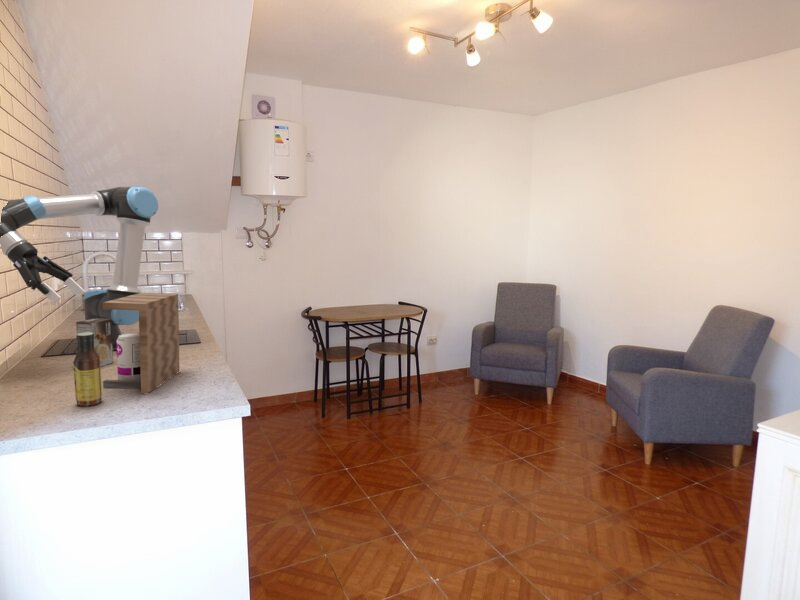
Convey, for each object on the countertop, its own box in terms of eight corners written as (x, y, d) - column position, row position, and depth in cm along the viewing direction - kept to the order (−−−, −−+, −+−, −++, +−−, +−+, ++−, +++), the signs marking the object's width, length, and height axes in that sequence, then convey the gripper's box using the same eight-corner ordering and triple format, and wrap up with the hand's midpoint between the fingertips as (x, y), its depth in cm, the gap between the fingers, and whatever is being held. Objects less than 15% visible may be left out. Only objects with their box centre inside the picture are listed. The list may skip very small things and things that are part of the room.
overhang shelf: (133, 370, 171) (130, 292, 167) (179, 371, 172) (178, 293, 168) (94, 392, 147) (90, 302, 143) (148, 394, 148) (145, 303, 144)
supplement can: (117, 386, 154) (115, 338, 152) (118, 379, 161) (116, 333, 159) (147, 383, 157) (145, 337, 155) (146, 376, 165) (145, 332, 163)
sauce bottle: (83, 399, 141) (80, 330, 139) (106, 399, 142) (104, 331, 139) (70, 407, 135) (66, 335, 132) (94, 407, 135) (91, 335, 133)
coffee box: (98, 361, 181) (97, 317, 179) (114, 362, 180) (112, 318, 178) (77, 367, 172) (75, 321, 170) (93, 369, 171) (91, 323, 169)
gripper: (35, 254, 170) (83, 299, 174) (-21, 260, 146) (37, 311, 149) (50, 239, 170) (98, 284, 173) (-3, 242, 145) (54, 294, 149)
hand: (70, 297), depth 161 cm, fingers open, 13 cm apart
